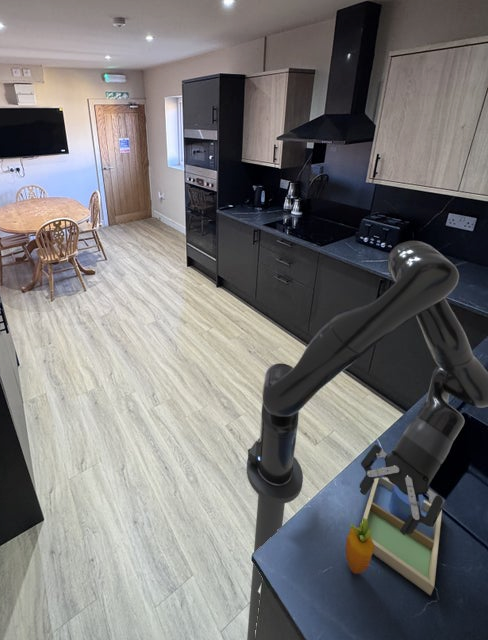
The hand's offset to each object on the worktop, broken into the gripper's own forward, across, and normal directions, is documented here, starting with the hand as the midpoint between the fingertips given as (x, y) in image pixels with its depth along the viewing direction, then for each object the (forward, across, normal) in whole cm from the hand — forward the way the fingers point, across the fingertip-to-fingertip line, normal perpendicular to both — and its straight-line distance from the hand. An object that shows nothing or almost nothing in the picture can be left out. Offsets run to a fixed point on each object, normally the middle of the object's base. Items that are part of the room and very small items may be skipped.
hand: (381, 512), depth 67 cm
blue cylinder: (-1, -1, +19) cm, 19 cm away
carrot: (+14, 0, +6) cm, 15 cm away
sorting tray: (+3, +1, +17) cm, 17 cm away
